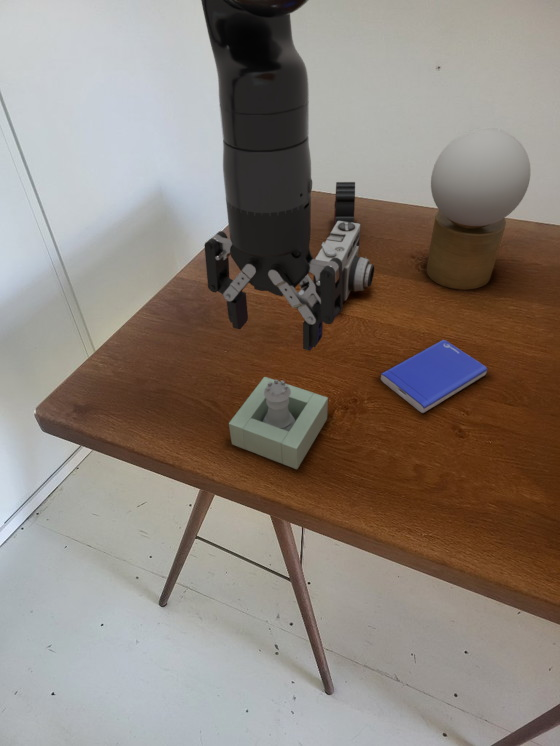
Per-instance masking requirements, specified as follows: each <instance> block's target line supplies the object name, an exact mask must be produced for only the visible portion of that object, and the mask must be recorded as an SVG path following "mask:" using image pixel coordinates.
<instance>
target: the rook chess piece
mask: <svg viewBox="0 0 560 746" xmlns="http://www.w3.org/2000/svg"><path fill="white" fill-rule="evenodd" d="M273 380H274V383H272V382H271V381H270V382H269V383H268V386H266V388H265V390H264V396H265V398H266V399H267V400H266V404H267V405H268V413H267V414H266V416H265V417H264V420H263V422H264V423H266V424H269V425H272V426H275V427H277V428H280V429H283V430H286V431H288V432H289V431H290V429H291V428H292V426H293V425H294V423H295V422H296V420H295V419H294V417H293V416H292V414H291V413H290V412H289V409H288V404H289V396H290V394H291V391H290V388H289V387H288V386H287V384H288V383H286V381H285V380H283V379H282V380H280V381H279V379H273ZM278 381H279V382H278ZM280 382H281V383H280ZM285 384H286V385H285Z"/></svg>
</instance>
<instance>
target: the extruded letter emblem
mask: <svg viewBox="0 0 560 746" xmlns="http://www.w3.org/2000/svg"><path fill="white" fill-rule="evenodd" d="M334 197H335V198H334V213H333V227H334V226H335V225H336V223H337V221H343V222H351V223H355V204H356V182H355V181H336V182H335V196H334Z"/></svg>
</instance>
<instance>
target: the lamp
mask: <svg viewBox="0 0 560 746" xmlns="http://www.w3.org/2000/svg"><path fill="white" fill-rule="evenodd" d="M430 176H431V177H430V191H431V196H432V198H433V202H434V204H435V206H436V207H437V209H438V210H437V212H436V213H435V215H434V216H435V217H434V222H433V228H432V233H431V239H430V243H429V251H428V256H427V261H426V266H425V271H426V274H427V276H428V277H429V279H430V280H432V282H435V283H436V284H438V285H439V286H443V287H445V288H448V289H453V290H461V291H462V290H474V289H478V288H482V287H484V286H485V285H487V284H488V283H489V282H490V280H491V279H492V274H493V272H494V268H495V264H496V261H497V257H498V253H499V250H500V247H501V242H502V240H503V235H504V232H505V228H506V225H507V220H506V217H507V216H509V215H510V214H511V213H513V212H514V211H515V210H516V209H517V207H518V206H519V205H520V204H521V202H522V201H523V199H524V198H525V195H526V193H527V191H528V188H529V184H530V181H531V162H530V158H529V155H528V152H527V150H526V149H525V147H524V146H523V144H522V143H521V141H519V139H517V138H516V137H515V136H514V135H512V134H511V133H510V132H507V131H505V130H502V129H498V128H495V127H480V128H474V129H471V130H468V131H466V132H464V133H462V134H459V135H458V136H456V137H455V138H453V139H452V140H450V142H448V144H447V145H446V146H445V147H444V148H443V149H442V151H441V152H440V154H439V155H438V157H437V159H436V161H435V163H434V166H433V167H432V172H431V175H430Z"/></svg>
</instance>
